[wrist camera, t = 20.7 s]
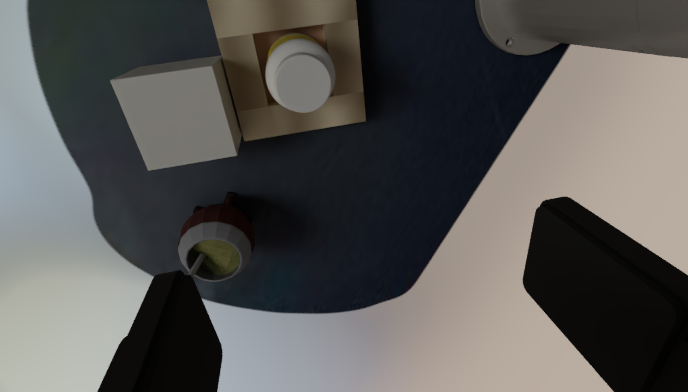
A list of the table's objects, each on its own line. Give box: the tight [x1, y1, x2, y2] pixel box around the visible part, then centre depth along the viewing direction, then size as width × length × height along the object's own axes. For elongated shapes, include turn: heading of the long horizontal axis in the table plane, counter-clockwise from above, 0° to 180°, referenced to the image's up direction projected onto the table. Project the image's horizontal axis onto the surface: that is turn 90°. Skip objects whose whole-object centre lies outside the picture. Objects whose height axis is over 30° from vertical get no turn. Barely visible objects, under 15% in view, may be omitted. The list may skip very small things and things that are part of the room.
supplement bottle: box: [265, 33, 335, 113], centre depth 29 cm, size 5×5×10 cm
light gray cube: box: [110, 55, 242, 171], centre depth 30 cm, size 7×7×7 cm
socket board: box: [207, 0, 366, 141], centre depth 32 cm, size 12×12×2 cm
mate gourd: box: [178, 192, 255, 282], centre depth 33 cm, size 8×8×15 cm
